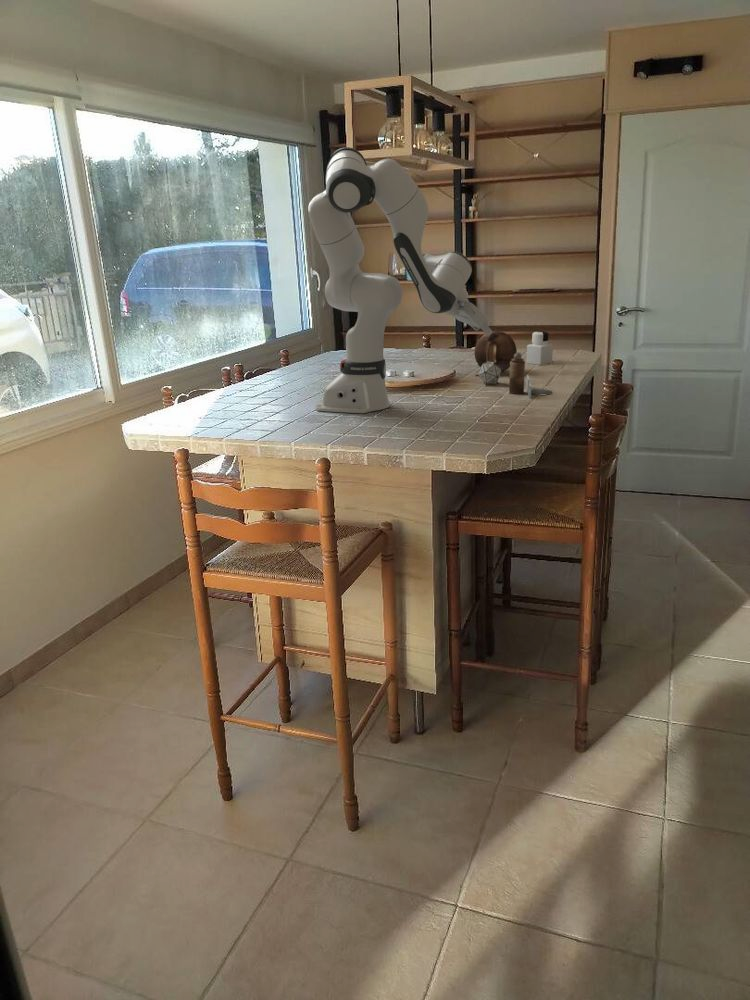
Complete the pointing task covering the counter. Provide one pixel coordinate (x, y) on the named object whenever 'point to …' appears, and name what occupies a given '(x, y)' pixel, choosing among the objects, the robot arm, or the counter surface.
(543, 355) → the medicine bottle
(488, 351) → the wooden sphere
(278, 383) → the counter surface
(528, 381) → the clear wall
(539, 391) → the slate coaster
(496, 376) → the game die
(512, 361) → the pepper mill
